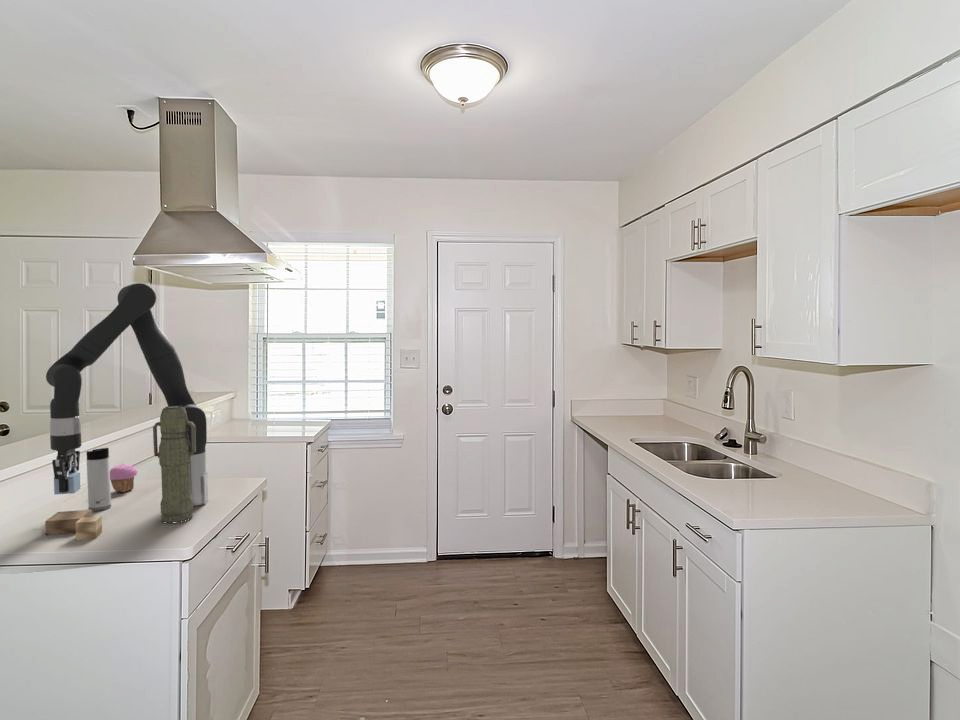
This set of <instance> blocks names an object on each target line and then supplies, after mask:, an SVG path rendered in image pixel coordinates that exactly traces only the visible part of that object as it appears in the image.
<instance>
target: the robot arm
mask: <svg viewBox="0 0 960 720" xmlns="http://www.w3.org/2000/svg"><path fill="white" fill-rule="evenodd" d="M156 302H157V295H156V292H155V290H154V289H153V287H151V286H150V285H148V284H146V283H141V282H140V283H139V282H137V283H132V284H129V285H125V286H124V287H122V288H121V289H120V290H119V291H118V293H117V303H118V304H117V305H116V306H115V307H114V309H113V310H112V311H111V312H110V313H109V314H107V316H106V317H105V318H103V319H102V320H100V322H98V323H97V324H96V325H95V326H93V327H92V328H91V329H90V330H89V331H88V332H86V334H85V335H83V337H82V338H81V339H79V340H78V341H77V343H76V344H75V345H74V346H73V347H72V348H71V349H70V350H69V351H68V352H67V353H65V354H64V355H62V356H61V357H60V358H59V359H57V360H56V361H55V362H54V363H53V364H52V365H51V366H50V367H48V369H47V371H46V373H45V378H46V379H45V380H46V383H48V384H49V385H50V386H51V387H53V388H54V389H53V390H54V391H53V398H52V399H50V400H51V401H50V403H49V411H50V412H49V413H50V414H49V415H50V420H49V421H50V423H49V439H50V444H49V445H50V450H53V451H56V452H57V455H56V459H52V461H51V463H52V469H53V476H54V477H55V479H58V480H59V492H61V493H62V492H68V491H69V487H68V476H69V473H78V472H80V471H79V470H80V460H81V459H80V455H81V452H80V450H76V449H79V448H82V424H81V418H80V403H79V400H80V396H81V391H82V385H83V384H82V383H83V382H82V380H83V379H82V374H81V372H82V371H84V369H86V368H87V367H89V366H92V365H93V364H95V363H96V361H97V360H98V359H100V357H101V356H102V355H103V354H104V353H105V352H106V351H107V350H108V349H109V348H110V346H111V345H112V344H113V343H114V342H115V341H116V339H118V338H119V337H120V336H121V335H122V333H123V332H124V331H125V330H126V329H127V328H128V327H129V326H130V327H131V329H132V331H133V332H134V335H135V338H136V340H137V342H138V345H139V348H140V350H141V352H142V354H143V357H144V359H145V362H146V364H147V366H148V369H149V370H150V373H151V374H152V376H153V378H154V380H155V382H156V384H157V386H158V388H159V389H160V391H161V392H162V394H163V396H164V398H165V401H166V404H167V406H182V407H185V410H186V412H187V415H188V420H189V421H192V422H193V423H194V424H195V426H196V452H195V453H194V454H193V455H191V463H190V487H191V495H192V498H193V507H198V506H202V505H206V504H207V502H208V501H209V485H208V484H209V482H208V472H207V464H206V463H207V460H206V458H207V457H206V455H207V454H206V446H207V438H208V437H207V434H208V432H207V425H208V424H207V415H206V414H205V413H206V412H204V410H203V409H202V408H201V407H199V406H198V405H197V404H196V403H195V401H194V399H193V397H192V395H191V394H190V392H189V389H188V387H187V384H186V379H185V373H184V369H183V366H182V363H181V360H180V358H179V355H178V352H177V351H176V349H175V347H174V345H173V343H172V342H171V341H170V339H169V337H167V335H166V334H165V333H164V332H163V331H162V329H161V328H160V327H159V325H158V323H157V322H156V319H155V317H154V314H153V311H152V310H151V309H152V308H153V307H154V306H155V304H156ZM188 439H189V442H190V444H191V426H190V425H189V424H188ZM191 450H192V444H191ZM61 473H62V475H61ZM54 477H53V478H54Z"/></svg>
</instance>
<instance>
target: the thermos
mask: <svg viewBox="0 0 960 720" xmlns="http://www.w3.org/2000/svg"><path fill="white" fill-rule="evenodd" d="M160 412H161V413H160V417H159V421H158V422H155V424H154V425H153V426H152V431H153V432H152V438H153V454H154V457H157V458H158V464H159V466H160V471H161V472H160V473H161V474H160V475H161V495H162V496H161V499H160V500H161V501H160V514H161V522H162V523H163V522H166V523H165V524H167V523H173V522H181V521H185V520H188V519H191V518H192V517H193V518H194V516H193V510H194V506H193V498H192V495H191V487H190V463H191V455H193V454H194V453H195V452H196V426H195V424H194V423H193V422H192V421H189V420H188V415H187V412H186V410H185V407H182V406H168V405H167V406H165V407H163V408H162V409H161V411H160ZM188 424H189V425H190V426H191V444H192V450H191V444H190V442H189V439H188ZM158 426H159V427H160V434H161V435H160V443H159V445H158ZM193 518H192V519H193ZM192 519H191V520H192ZM188 521H189V520H188Z"/></svg>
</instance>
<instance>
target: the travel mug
mask: <svg viewBox="0 0 960 720" xmlns="http://www.w3.org/2000/svg"><path fill="white" fill-rule="evenodd" d="M85 453H86V476H87V499H88V501H87V502H88V510H92V512H99V511H105V510H109V509H110V508H111V507H112V496H111V494H112V493H111V492H112V491H111V480H110V470H111V468H110V466H111V465H110V451H109V447H102V448H101V447H100V448H95V449H92V450H87V451H86V452H85Z"/></svg>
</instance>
